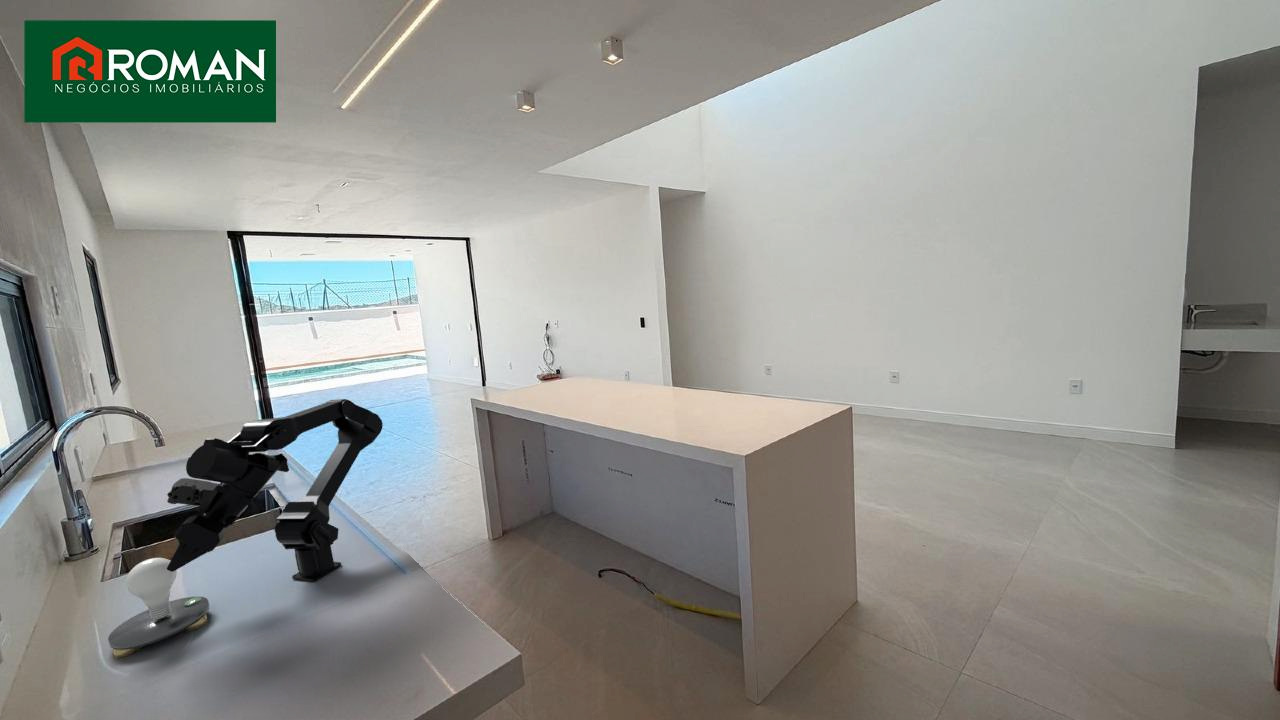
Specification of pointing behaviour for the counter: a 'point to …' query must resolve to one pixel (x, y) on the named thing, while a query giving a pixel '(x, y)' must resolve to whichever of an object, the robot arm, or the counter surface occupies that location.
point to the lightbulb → (152, 585)
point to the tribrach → (158, 625)
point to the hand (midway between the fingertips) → (180, 558)
